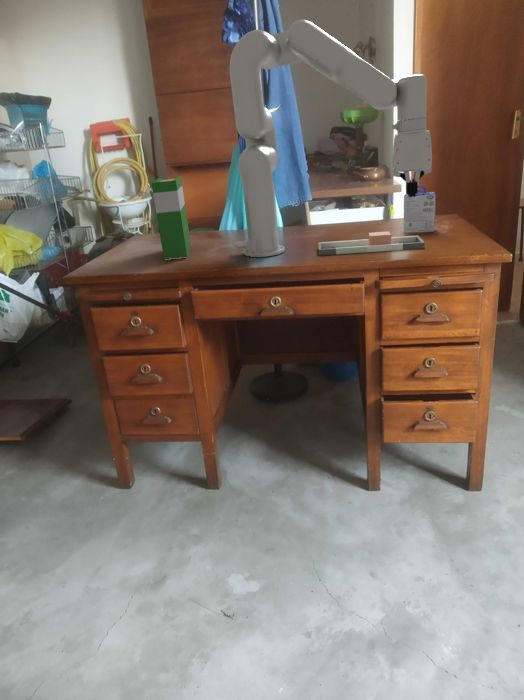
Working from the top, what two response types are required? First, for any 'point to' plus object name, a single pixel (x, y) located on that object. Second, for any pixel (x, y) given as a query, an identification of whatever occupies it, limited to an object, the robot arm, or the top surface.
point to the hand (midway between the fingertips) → (411, 196)
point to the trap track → (363, 246)
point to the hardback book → (171, 217)
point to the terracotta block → (379, 238)
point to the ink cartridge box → (419, 211)
